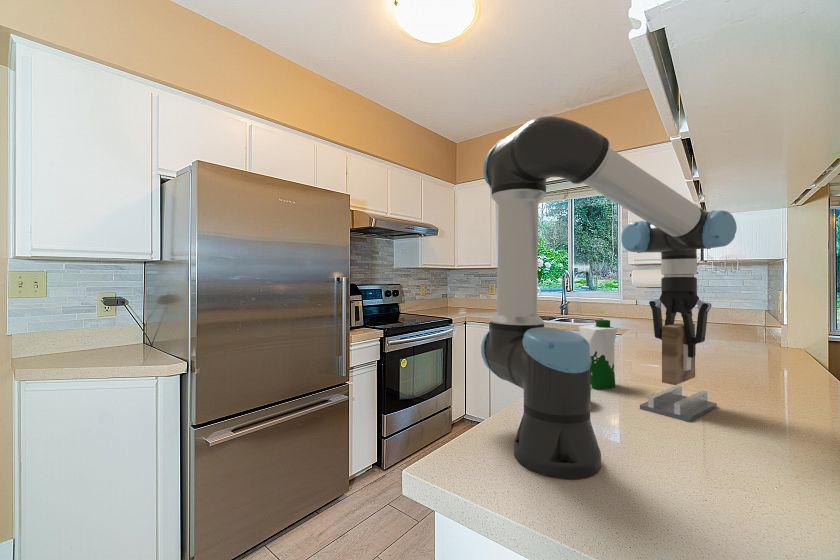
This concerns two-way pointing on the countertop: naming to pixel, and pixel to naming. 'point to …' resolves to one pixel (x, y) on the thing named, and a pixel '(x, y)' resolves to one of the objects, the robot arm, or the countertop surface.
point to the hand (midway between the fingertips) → (678, 368)
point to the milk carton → (601, 353)
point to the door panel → (675, 355)
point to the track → (679, 404)
